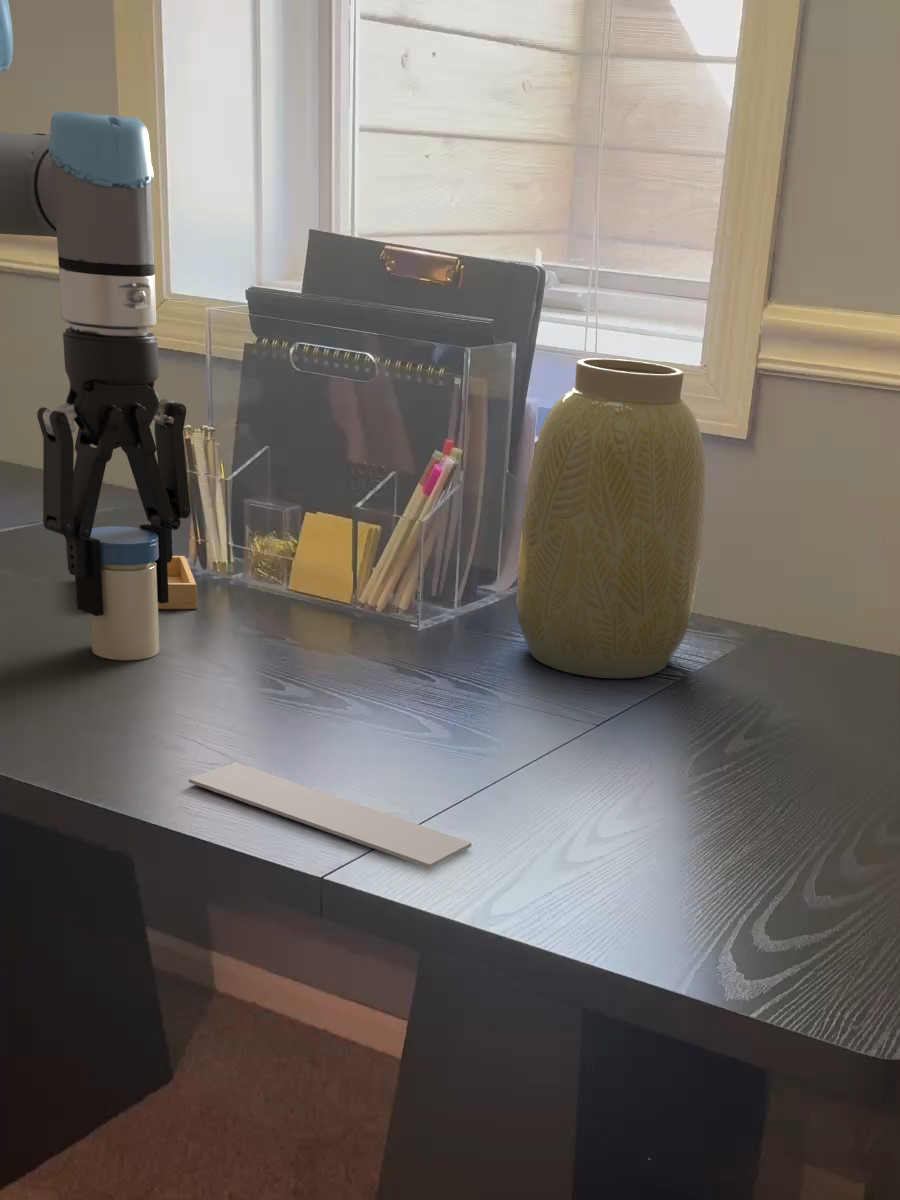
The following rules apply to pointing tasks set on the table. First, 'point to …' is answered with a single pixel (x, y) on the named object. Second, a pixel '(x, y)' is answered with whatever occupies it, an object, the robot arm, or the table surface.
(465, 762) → the table surface
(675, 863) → the table surface
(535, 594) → the vase
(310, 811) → the nameplate
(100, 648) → the jar
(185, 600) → the tray
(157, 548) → the lid
